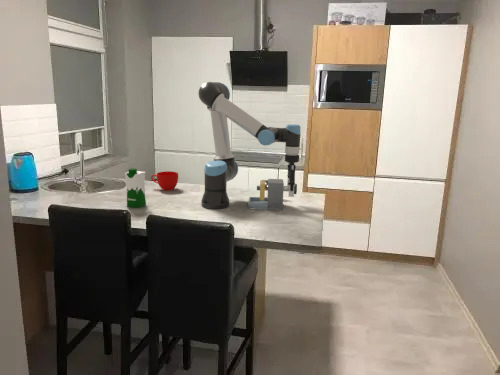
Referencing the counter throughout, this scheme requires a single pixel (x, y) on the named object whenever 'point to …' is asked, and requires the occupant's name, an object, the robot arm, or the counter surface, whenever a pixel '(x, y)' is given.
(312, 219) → the counter surface
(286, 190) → the shaft
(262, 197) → the brass ring
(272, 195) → the bearing block
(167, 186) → the ceramic cup
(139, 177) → the milk carton
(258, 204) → the tray
